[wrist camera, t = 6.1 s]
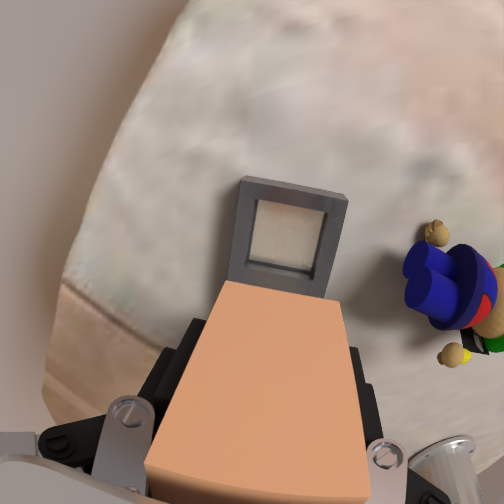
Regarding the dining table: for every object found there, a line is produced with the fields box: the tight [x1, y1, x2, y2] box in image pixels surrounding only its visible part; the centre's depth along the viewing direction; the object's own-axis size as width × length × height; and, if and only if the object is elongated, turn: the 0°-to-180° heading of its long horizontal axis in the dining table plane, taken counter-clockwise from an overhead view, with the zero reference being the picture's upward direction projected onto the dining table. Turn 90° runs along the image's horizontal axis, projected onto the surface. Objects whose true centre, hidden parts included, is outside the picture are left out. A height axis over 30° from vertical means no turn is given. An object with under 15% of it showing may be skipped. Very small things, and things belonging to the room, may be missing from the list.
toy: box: [403, 220, 504, 368], centre depth 22 cm, size 12×9×15 cm
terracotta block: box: [144, 280, 371, 504], centre depth 9 cm, size 4×4×8 cm
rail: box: [227, 176, 348, 299], centre depth 28 cm, size 24×8×3 cm, turn 171°
